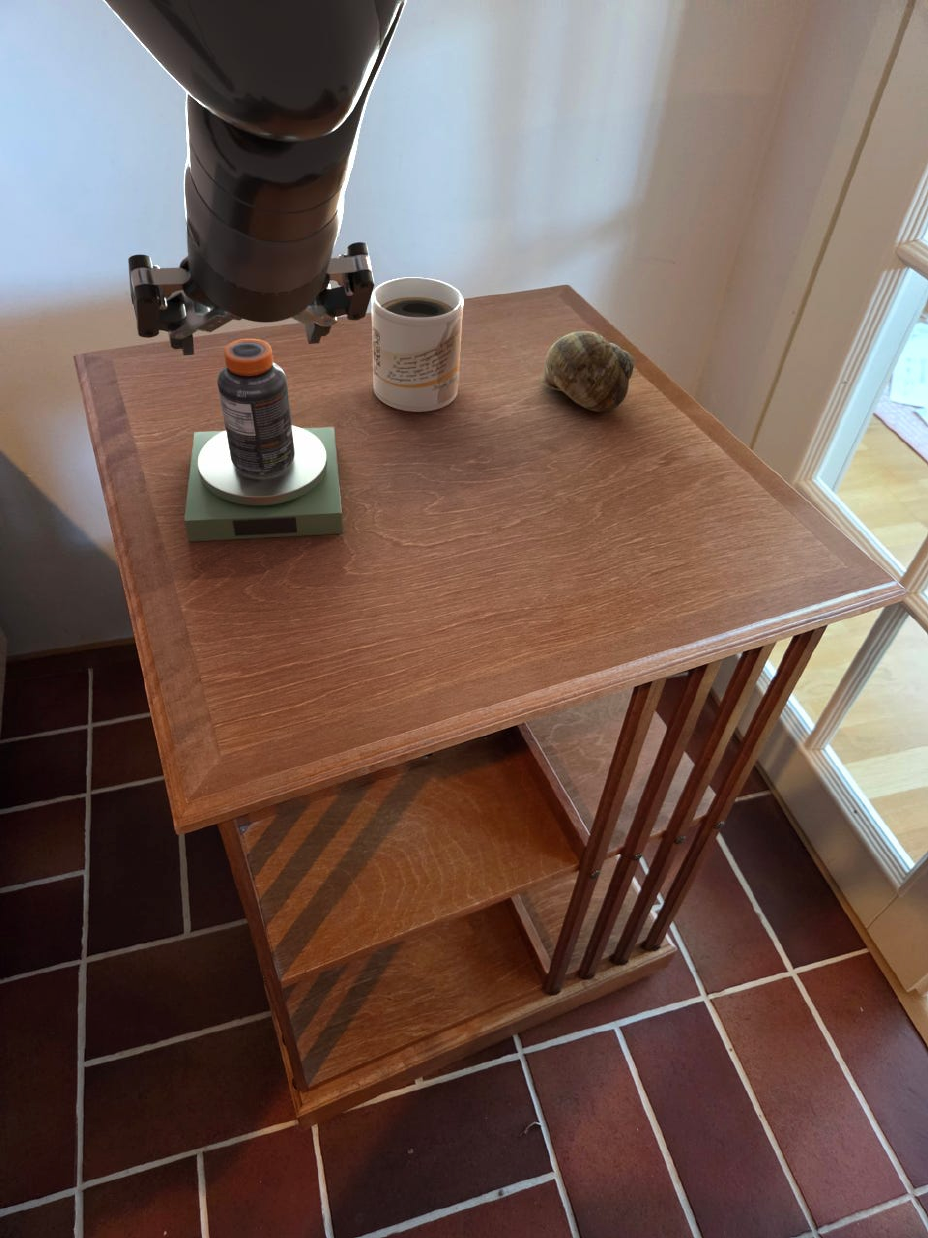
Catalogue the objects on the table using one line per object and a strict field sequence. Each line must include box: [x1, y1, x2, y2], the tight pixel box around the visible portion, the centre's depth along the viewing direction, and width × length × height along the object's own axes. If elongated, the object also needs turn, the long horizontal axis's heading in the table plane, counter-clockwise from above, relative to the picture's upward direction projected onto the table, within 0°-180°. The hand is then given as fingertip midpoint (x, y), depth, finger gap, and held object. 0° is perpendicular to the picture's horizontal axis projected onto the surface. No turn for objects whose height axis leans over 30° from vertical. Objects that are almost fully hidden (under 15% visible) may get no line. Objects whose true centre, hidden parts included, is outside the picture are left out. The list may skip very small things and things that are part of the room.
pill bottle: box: [216, 338, 295, 475], centre depth 75 cm, size 6×6×11 cm
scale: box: [183, 425, 344, 543], centre depth 80 cm, size 14×14×4 cm
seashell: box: [540, 330, 636, 412], centre depth 94 cm, size 11×9×8 cm
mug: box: [371, 277, 464, 413], centre depth 93 cm, size 10×12×11 cm
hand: (249, 335), depth 58 cm, fingers open, 8 cm apart
